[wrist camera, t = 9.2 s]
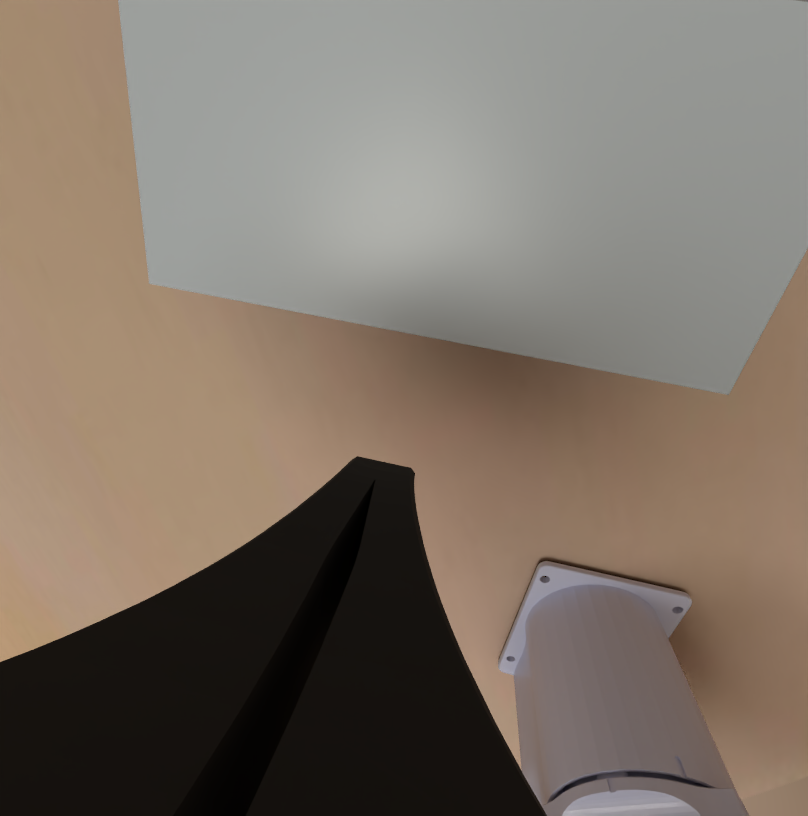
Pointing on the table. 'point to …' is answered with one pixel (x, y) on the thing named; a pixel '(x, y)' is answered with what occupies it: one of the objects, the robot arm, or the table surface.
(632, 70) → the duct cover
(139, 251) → the table surface
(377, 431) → the table surface
